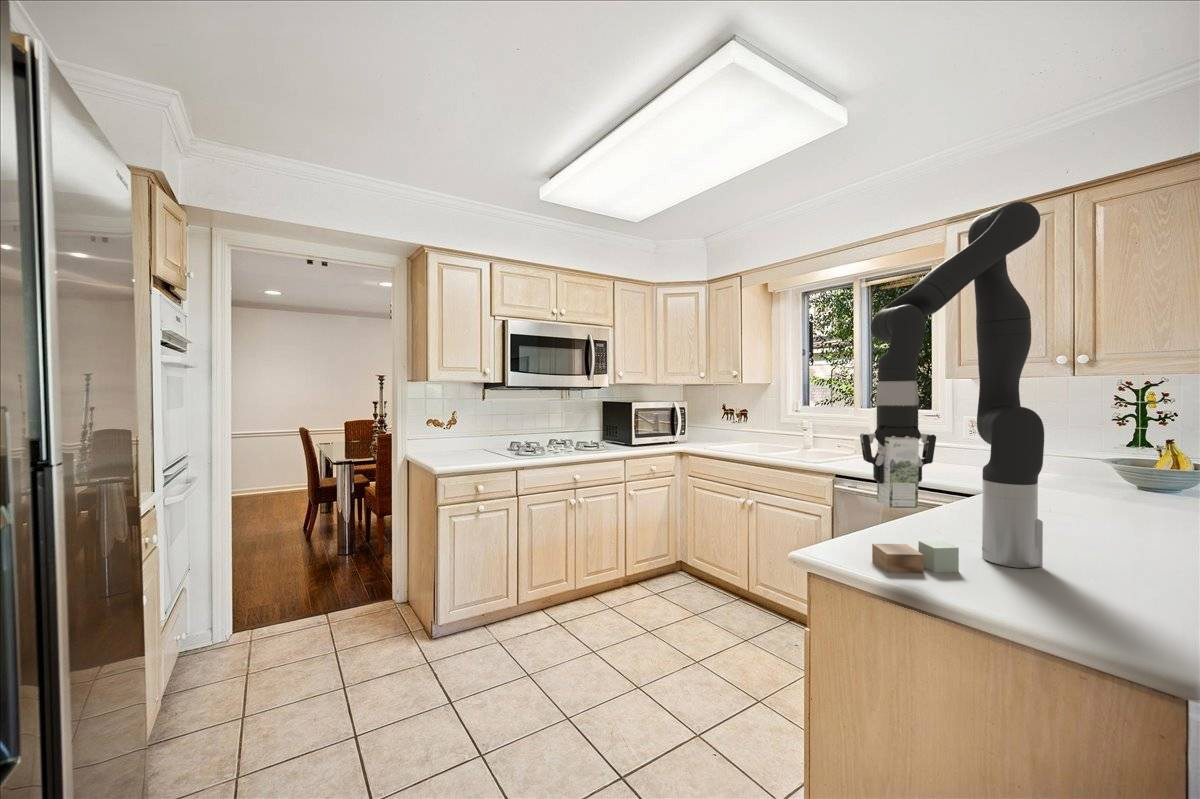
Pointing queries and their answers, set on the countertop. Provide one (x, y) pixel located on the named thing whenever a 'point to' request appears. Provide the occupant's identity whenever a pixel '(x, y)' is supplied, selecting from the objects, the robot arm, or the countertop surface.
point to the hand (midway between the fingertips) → (897, 483)
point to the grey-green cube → (940, 556)
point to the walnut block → (898, 558)
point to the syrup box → (899, 473)
